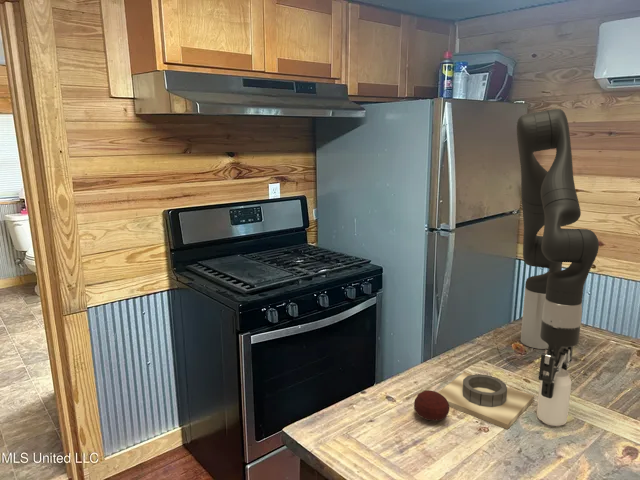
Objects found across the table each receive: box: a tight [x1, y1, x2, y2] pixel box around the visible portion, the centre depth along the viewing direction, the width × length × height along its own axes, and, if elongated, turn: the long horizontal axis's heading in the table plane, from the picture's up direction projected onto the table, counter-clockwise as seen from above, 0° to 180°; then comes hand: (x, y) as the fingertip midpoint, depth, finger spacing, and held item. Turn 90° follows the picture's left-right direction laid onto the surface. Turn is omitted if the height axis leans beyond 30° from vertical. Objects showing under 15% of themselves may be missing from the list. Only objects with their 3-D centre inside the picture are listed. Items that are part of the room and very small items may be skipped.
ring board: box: [438, 371, 535, 430], centre depth 119 cm, size 16×18×4 cm
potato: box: [413, 389, 450, 421], centre depth 112 cm, size 7×8×6 cm
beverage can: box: [536, 366, 572, 427], centre depth 110 cm, size 6×6×12 cm
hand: (553, 389), depth 109 cm, fingers open, 8 cm apart
